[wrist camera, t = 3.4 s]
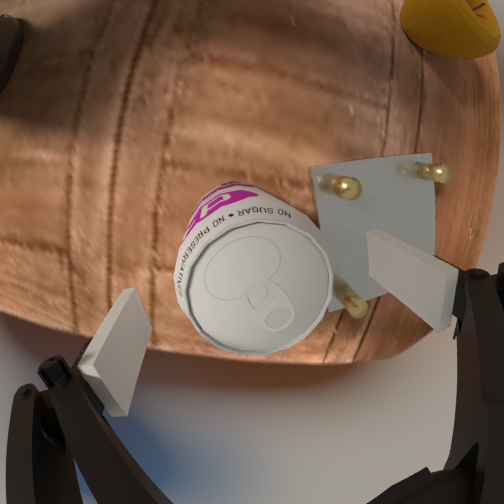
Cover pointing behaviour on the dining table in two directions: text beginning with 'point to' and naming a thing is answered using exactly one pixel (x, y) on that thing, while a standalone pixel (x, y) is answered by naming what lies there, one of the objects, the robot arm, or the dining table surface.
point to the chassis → (372, 216)
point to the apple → (451, 27)
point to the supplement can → (252, 271)
